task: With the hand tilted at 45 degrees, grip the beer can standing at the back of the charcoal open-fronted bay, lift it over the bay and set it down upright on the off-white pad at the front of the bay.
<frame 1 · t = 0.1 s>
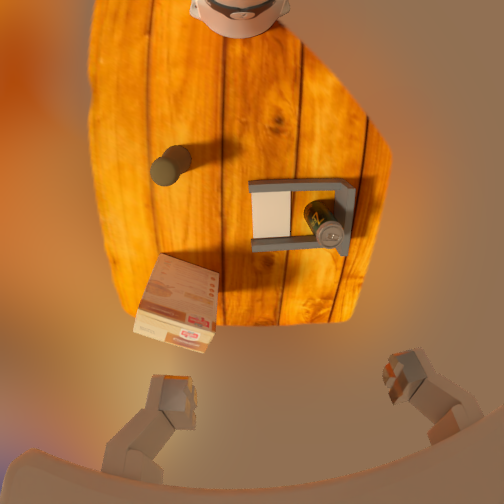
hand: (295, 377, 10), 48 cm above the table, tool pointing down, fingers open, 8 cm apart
coffeecake box: (185, 273, 65), on the table
beer can: (314, 211, 58), resting in bay
cork: (176, 159, 51), on the table
bay: (296, 212, 58), on the table
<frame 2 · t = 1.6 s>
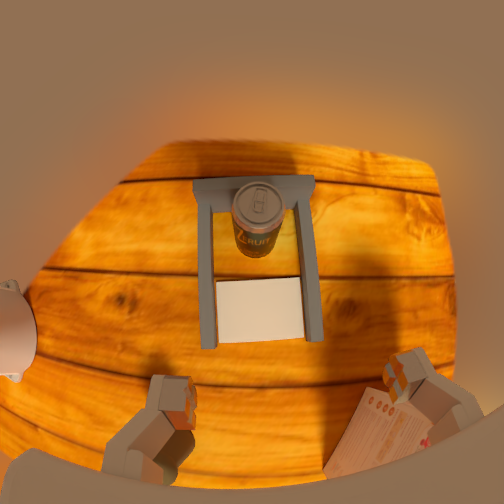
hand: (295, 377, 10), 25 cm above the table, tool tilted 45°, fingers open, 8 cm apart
coffeecake box: (362, 434, 31), on the table
beer can: (255, 240, 38), resting in bay
cork: (174, 439, 31), on the table
bay: (257, 269, 37), on the table
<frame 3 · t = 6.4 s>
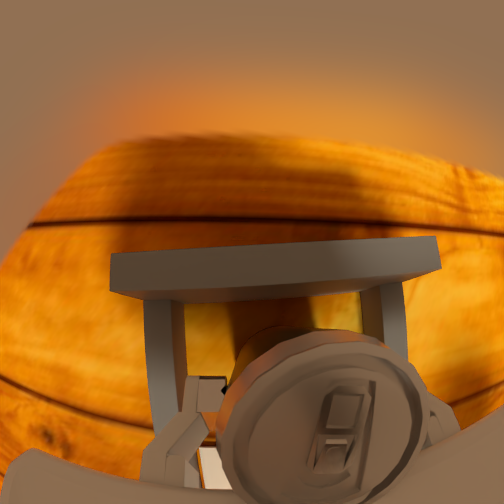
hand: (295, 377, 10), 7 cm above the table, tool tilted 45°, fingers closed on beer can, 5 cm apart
beer can: (278, 366, 16), resting in bay, touching gripper
bay: (282, 424, 15), on the table
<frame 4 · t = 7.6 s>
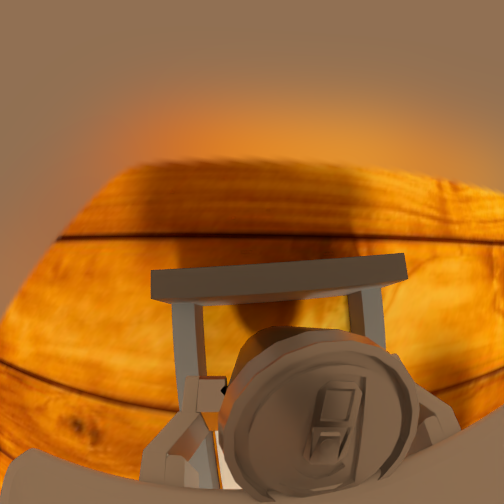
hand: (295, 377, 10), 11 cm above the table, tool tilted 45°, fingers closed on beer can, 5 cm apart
beer can: (278, 365, 17), point 3 cm above the table, touching gripper
bay: (283, 404, 19), on the table
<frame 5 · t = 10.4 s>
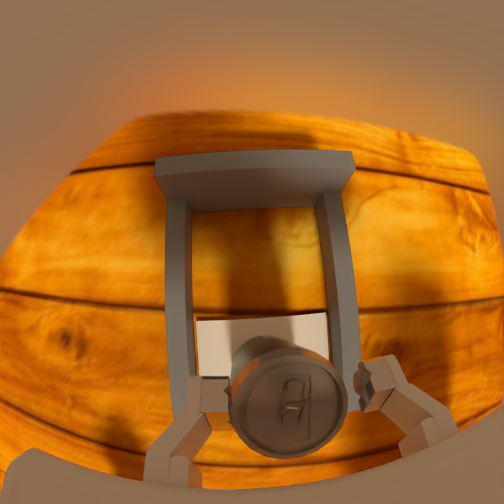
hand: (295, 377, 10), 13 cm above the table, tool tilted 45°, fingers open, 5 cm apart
beer can: (264, 365, 22), resting on bay, touching gripper
bay: (260, 300, 23), on the table
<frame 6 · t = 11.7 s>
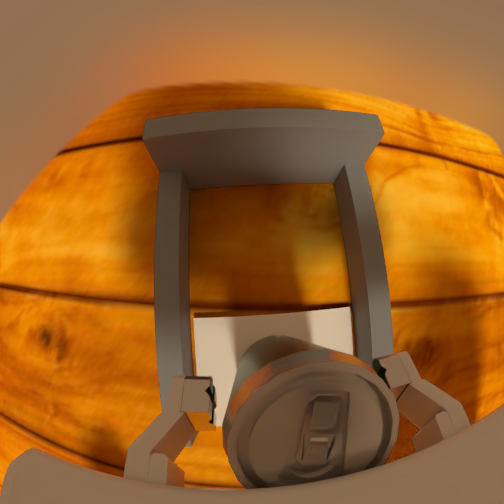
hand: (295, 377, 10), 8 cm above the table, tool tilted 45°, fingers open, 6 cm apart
beer can: (276, 371, 18), resting on bay
bay: (272, 292, 19), on the table
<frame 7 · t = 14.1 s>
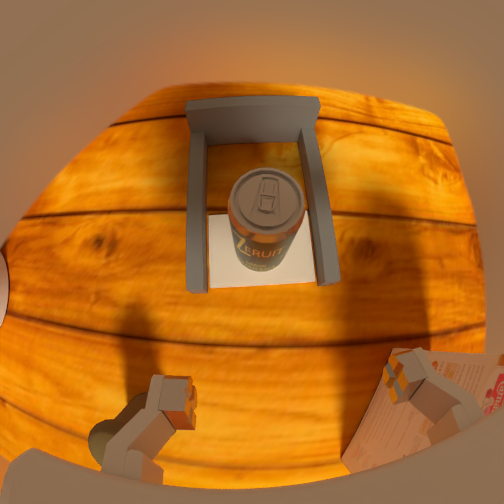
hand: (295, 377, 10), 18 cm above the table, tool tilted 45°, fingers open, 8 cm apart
coffeecake box: (389, 411, 25), on the table
beer can: (260, 248, 29), resting on bay
cork: (153, 416, 25), on the table
bay: (257, 201, 31), on the table
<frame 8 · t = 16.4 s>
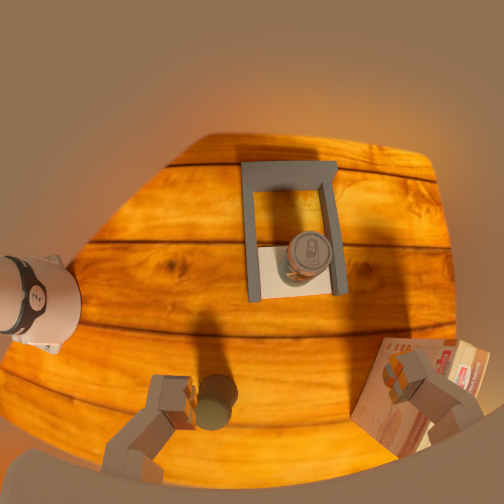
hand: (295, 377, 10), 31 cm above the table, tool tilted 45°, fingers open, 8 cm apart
coffeecake box: (382, 383, 38), on the table
beer can: (294, 271, 43), resting on bay
cork: (218, 392, 38), on the table
bay: (291, 237, 44), on the table
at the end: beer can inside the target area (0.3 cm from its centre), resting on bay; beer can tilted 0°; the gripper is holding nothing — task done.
